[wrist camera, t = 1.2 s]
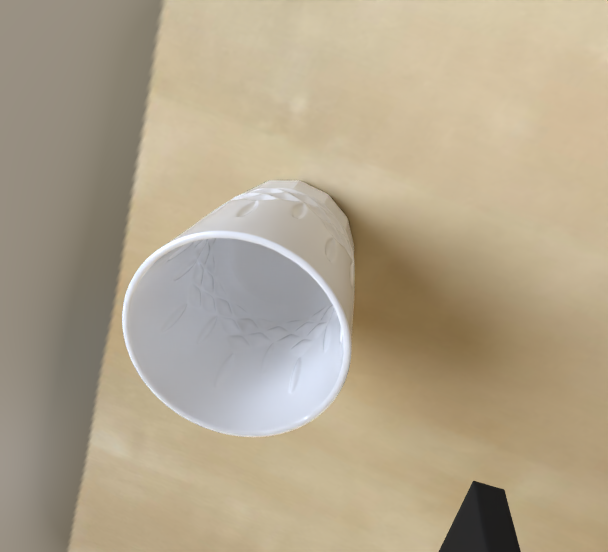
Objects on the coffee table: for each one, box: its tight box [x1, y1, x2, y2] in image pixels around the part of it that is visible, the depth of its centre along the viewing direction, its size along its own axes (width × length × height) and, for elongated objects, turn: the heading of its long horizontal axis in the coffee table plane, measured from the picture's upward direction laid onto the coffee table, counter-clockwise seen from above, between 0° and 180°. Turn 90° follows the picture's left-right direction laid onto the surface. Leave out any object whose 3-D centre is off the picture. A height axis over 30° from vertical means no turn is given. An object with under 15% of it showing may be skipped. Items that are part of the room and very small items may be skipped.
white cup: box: [122, 180, 355, 437], centre depth 22 cm, size 8×8×10 cm
